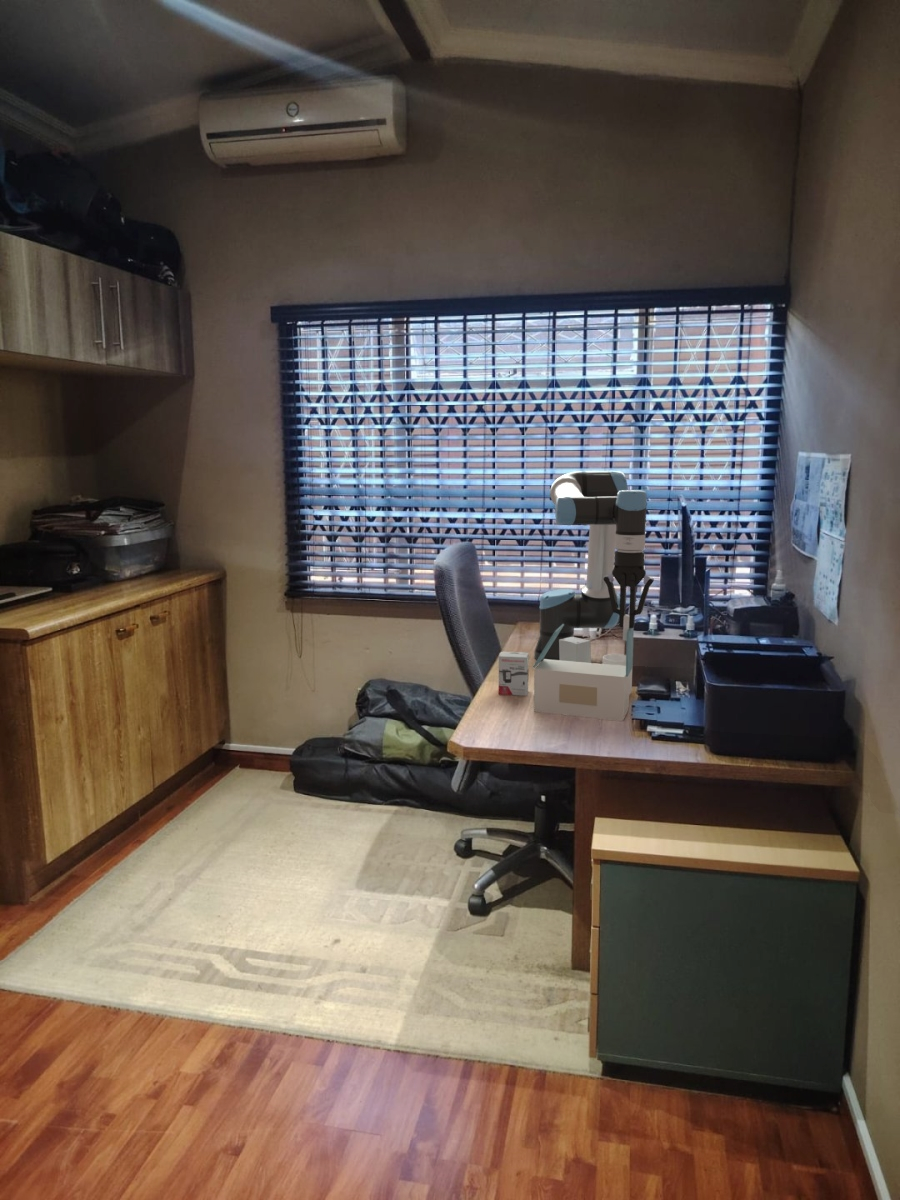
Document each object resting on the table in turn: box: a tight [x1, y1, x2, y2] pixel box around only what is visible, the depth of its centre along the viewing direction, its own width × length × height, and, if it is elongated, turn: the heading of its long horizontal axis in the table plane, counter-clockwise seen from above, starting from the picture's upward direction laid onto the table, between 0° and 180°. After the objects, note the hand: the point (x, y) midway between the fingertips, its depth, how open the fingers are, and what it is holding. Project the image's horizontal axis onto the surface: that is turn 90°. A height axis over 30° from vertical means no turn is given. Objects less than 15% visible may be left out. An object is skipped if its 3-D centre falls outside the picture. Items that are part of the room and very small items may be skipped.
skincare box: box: [559, 636, 592, 663], centre depth 231 cm, size 8×6×15 cm
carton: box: [533, 659, 630, 722], centre depth 211 cm, size 11×24×12 cm, turn 69°
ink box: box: [497, 651, 530, 697], centre depth 227 cm, size 9×5×12 cm, turn 79°
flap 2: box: [625, 626, 635, 677], centre depth 204 cm, size 12×10×1 cm
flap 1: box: [532, 624, 564, 669], centre depth 212 cm, size 12×10×1 cm
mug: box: [601, 653, 633, 696], centre depth 224 cm, size 9×12×11 cm
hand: (626, 639), depth 204 cm, fingers closed
